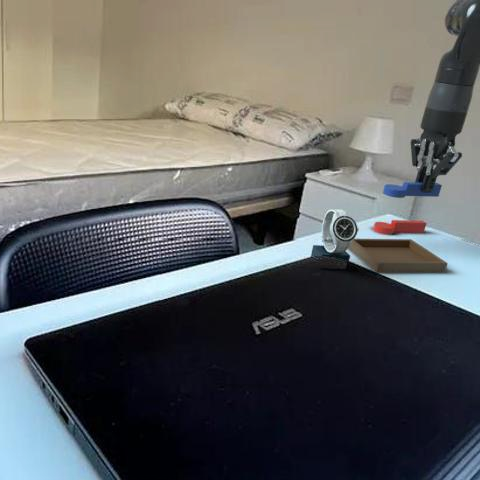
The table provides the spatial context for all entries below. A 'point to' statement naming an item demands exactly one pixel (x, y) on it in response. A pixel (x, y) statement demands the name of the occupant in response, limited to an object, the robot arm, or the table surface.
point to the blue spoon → (409, 190)
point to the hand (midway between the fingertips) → (422, 190)
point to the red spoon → (400, 227)
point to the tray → (396, 255)
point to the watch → (336, 235)
